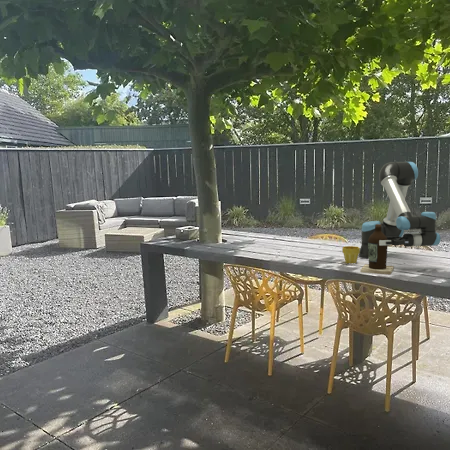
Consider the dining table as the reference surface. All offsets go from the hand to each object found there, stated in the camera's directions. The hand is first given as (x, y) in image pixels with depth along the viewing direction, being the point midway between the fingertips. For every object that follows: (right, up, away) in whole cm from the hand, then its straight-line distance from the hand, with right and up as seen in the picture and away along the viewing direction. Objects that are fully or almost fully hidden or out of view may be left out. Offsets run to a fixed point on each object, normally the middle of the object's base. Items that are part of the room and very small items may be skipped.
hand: (374, 241), depth 244 cm
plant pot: (-6, -15, +25) cm, 29 cm away
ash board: (+2, -17, +2) cm, 17 cm away
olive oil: (+2, -15, +2) cm, 16 cm away
